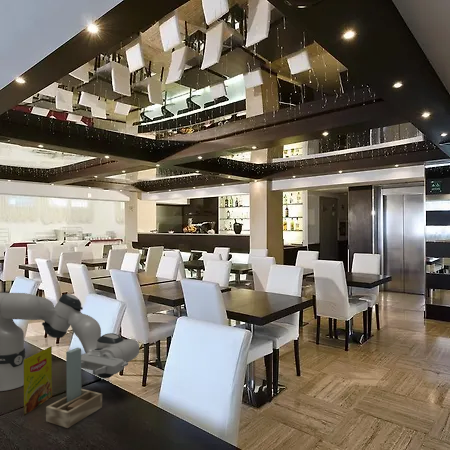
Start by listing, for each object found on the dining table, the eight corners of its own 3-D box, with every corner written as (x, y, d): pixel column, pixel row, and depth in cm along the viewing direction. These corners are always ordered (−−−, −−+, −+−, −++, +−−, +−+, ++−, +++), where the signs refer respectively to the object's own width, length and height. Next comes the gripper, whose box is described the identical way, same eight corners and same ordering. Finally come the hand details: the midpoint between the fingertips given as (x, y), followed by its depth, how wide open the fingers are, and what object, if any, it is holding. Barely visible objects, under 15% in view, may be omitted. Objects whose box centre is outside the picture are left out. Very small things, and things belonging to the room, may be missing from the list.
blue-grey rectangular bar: (66, 412, 137) (66, 351, 137) (77, 406, 142) (77, 347, 141) (70, 413, 136) (70, 352, 136) (81, 407, 141) (81, 348, 141)
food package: (25, 415, 135) (24, 359, 135) (22, 415, 135) (22, 359, 135) (53, 396, 150) (52, 346, 150) (50, 396, 150) (50, 345, 150)
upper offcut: (67, 413, 132) (67, 406, 132) (79, 405, 137) (79, 398, 137) (74, 414, 131) (74, 407, 131) (86, 407, 136) (86, 400, 136)
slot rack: (45, 421, 131) (45, 406, 131) (81, 401, 145) (81, 388, 145) (67, 428, 126) (67, 413, 126) (102, 407, 141) (102, 393, 141)
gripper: (130, 370, 151) (106, 383, 139) (91, 362, 160) (65, 374, 147) (130, 354, 151) (105, 366, 138) (91, 347, 160) (65, 358, 147)
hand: (84, 370), depth 143 cm, fingers open, 8 cm apart
